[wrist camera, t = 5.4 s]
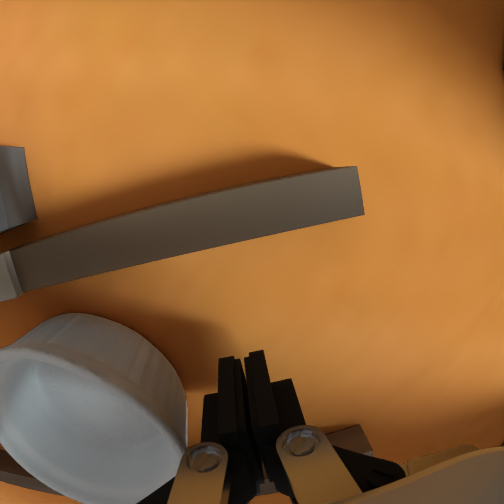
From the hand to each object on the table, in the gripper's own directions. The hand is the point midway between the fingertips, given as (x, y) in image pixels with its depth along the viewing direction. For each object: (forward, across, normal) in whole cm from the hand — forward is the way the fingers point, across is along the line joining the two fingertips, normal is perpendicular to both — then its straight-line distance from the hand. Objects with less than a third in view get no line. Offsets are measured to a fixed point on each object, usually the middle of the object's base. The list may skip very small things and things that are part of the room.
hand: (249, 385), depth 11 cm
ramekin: (+2, +7, 0) cm, 7 cm away
